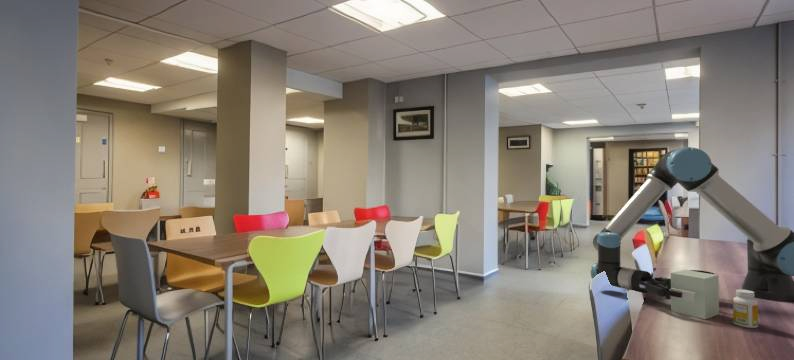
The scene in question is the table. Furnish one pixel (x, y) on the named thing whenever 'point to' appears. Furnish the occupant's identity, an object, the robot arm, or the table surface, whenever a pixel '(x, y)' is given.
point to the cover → (704, 289)
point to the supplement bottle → (745, 309)
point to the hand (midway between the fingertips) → (706, 294)
